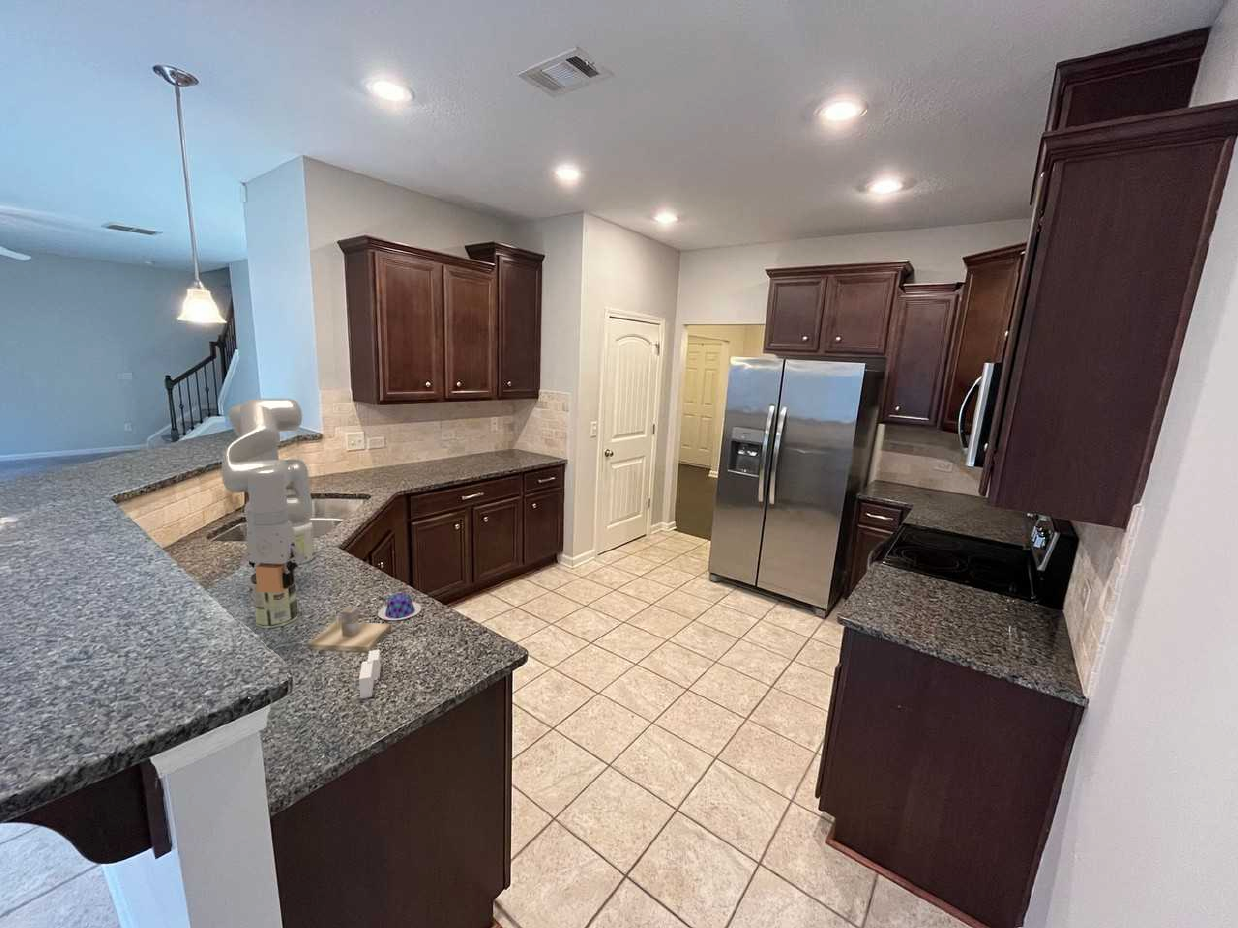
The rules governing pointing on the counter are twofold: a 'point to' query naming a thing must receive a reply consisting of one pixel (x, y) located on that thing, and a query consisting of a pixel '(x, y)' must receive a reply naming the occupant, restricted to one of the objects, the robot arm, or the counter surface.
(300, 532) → the supplement tub
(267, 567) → the orange block
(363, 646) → the post stand
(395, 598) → the pudding
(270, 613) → the coffee can
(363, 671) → the white stepped block
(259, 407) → the robot arm
